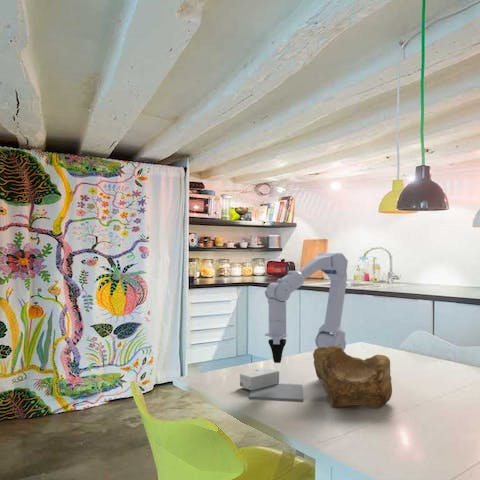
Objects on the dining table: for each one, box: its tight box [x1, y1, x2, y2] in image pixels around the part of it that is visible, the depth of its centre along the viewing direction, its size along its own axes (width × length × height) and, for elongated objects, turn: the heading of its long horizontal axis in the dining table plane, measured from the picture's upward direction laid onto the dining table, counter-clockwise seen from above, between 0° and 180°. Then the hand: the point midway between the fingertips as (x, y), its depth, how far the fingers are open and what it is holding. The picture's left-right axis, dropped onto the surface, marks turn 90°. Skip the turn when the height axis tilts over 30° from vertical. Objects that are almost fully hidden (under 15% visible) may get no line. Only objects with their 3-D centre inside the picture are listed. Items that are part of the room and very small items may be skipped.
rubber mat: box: [248, 383, 304, 402], centre depth 128 cm, size 16×14×1 cm
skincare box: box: [239, 367, 280, 391], centre depth 133 cm, size 6×4×12 cm
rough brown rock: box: [312, 346, 393, 409], centre depth 119 cm, size 23×17×15 cm
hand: (277, 362), depth 132 cm, fingers closed
